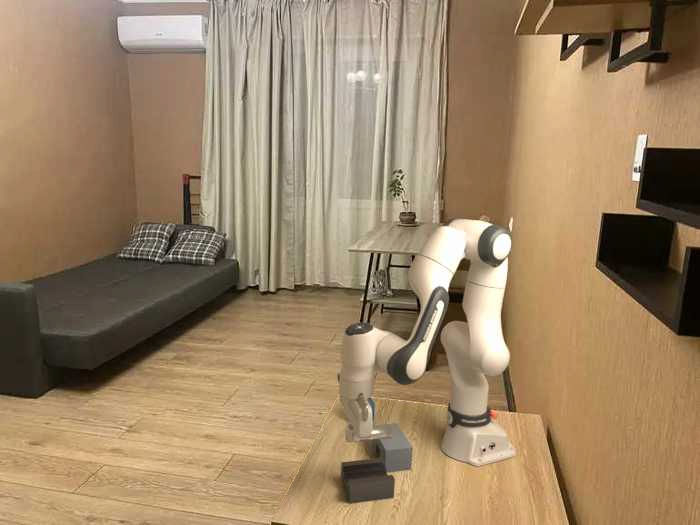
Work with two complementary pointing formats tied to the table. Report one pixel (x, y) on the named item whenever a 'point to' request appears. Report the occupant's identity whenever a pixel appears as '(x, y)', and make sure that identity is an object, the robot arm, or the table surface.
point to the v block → (366, 480)
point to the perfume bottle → (371, 406)
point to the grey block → (394, 449)
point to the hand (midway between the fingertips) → (354, 435)
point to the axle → (376, 434)
